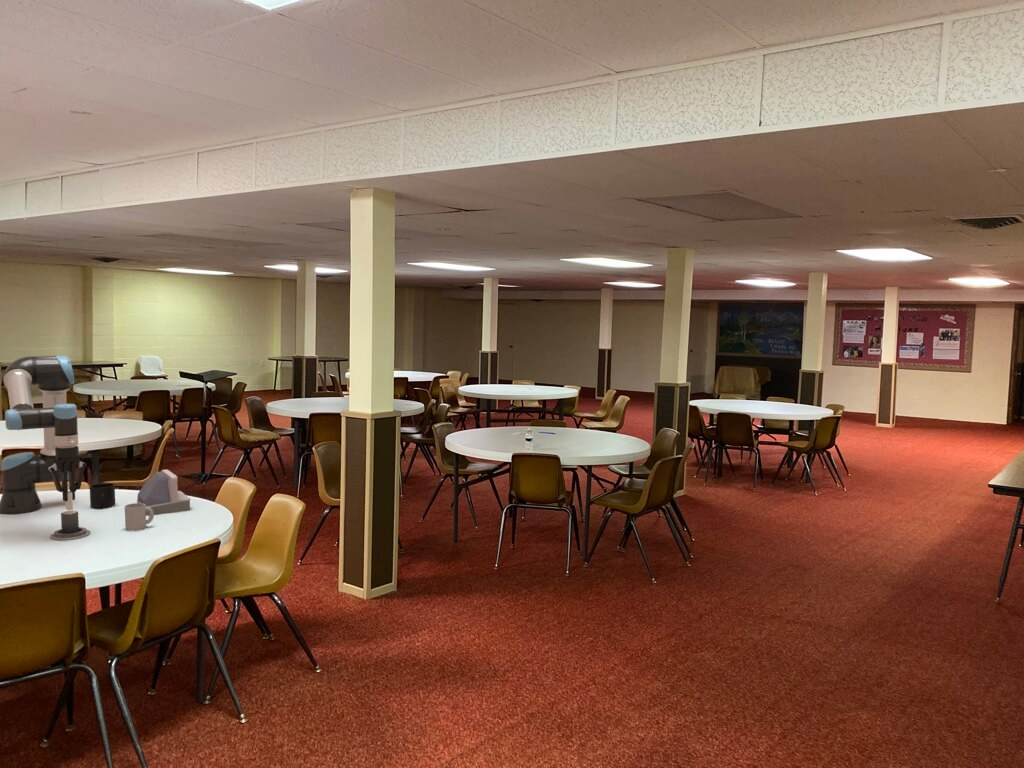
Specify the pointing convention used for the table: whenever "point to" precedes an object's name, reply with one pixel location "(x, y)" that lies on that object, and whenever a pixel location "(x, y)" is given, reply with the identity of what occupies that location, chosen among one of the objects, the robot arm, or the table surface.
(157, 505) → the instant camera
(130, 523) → the cup
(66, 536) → the ring
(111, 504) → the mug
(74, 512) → the dark grey cylinder
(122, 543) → the table surface
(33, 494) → the robot arm
